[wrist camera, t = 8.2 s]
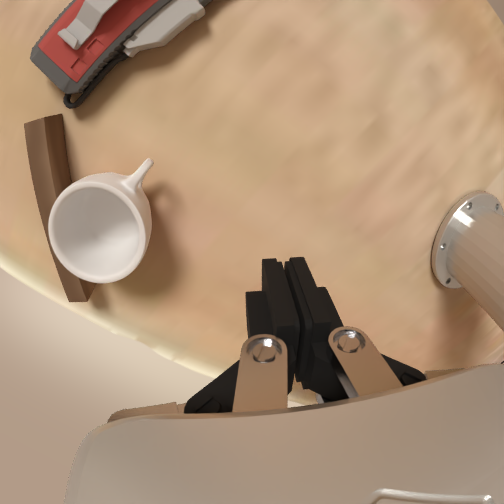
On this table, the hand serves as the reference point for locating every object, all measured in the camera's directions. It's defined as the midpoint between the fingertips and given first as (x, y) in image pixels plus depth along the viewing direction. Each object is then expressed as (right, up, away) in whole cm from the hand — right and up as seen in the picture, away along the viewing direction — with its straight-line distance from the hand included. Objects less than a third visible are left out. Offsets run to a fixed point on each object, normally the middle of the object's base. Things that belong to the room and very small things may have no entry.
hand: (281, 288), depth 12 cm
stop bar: (-17, +6, +10) cm, 21 cm away
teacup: (-12, +6, +11) cm, 17 cm away
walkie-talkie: (-9, +21, +3) cm, 23 cm away
